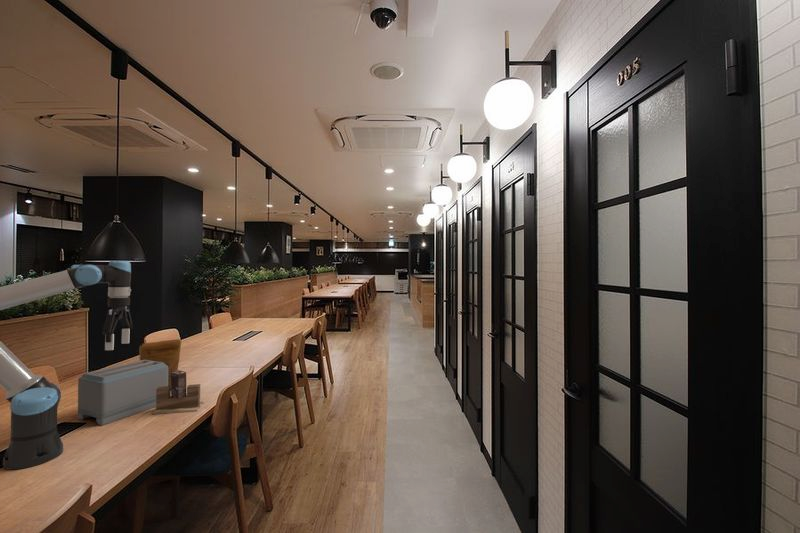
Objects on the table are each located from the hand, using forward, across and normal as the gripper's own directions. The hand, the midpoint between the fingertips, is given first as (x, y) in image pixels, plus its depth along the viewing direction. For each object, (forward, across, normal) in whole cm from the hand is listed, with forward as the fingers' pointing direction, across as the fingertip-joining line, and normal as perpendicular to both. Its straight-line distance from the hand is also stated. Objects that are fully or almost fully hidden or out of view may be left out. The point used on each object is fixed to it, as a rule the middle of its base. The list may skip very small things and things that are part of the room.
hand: (117, 346), depth 154 cm
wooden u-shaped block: (+34, +16, -19) cm, 42 cm away
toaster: (+34, +21, +3) cm, 40 cm away
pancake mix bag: (+34, +45, -2) cm, 56 cm away
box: (+28, +15, -19) cm, 37 cm away
